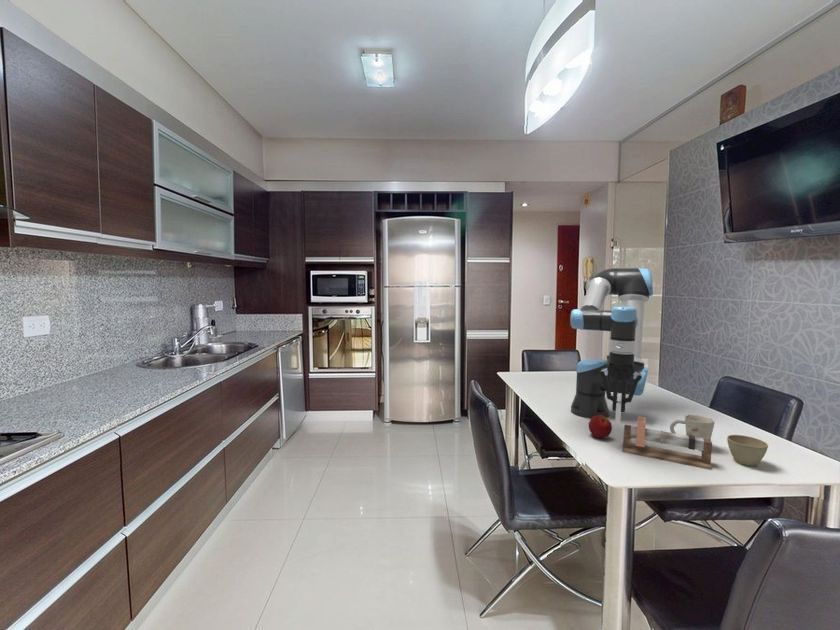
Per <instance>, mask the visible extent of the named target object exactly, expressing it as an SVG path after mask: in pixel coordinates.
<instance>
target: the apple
mask: <svg viewBox="0 0 840 630" xmlns="http://www.w3.org/2000/svg"><path fill="white" fill-rule="evenodd" d="M588 430H589V432H590V434H591V435H593V436H594V437H595V438H598V439H604V438H607V437H608V436H610V434H611V433H612V430H613V426H612V422H611V421H610V419H608V417H605V416H602V415H597V416H594V417H593V418H590V420H589V422H588Z"/></svg>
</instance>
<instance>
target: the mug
mask: <svg viewBox="0 0 840 630" xmlns="http://www.w3.org/2000/svg"><path fill="white" fill-rule="evenodd" d="M677 424H681V425H685V435H687V436H688V435H692V436H695V437H699V438H708V439H711V440H712V436H713V431H714V427H715V420H714V419H713V418H711V417H708V416H704V415H698V414H686V415H685V416H684V419H683V420H682V419H675V420H673V421H672V422H671V423H670V425H669V430H670V433H675V434H677V432H676V431H675V426H676V425H677Z"/></svg>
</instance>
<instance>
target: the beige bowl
mask: <svg viewBox="0 0 840 630" xmlns="http://www.w3.org/2000/svg"><path fill="white" fill-rule="evenodd" d="M726 438H727V439H726V440H727V441H726V442H727V445H728V449H729V452H730V454H731V455H732V458H733V459H734V461H735V462H736V463H738V464H739V465H744V466H748V467H754V466H755V467H756V466H757V465H758V464H759V463H760V462H761V461H762V460H763V458H764V457H765V455H766V453H767V452H768V448H769V444H768V443H767V442H766V441H764V440H761V439H759V438H757V437H752V436H749V435H748V436H747V435H742V434H728V435H727V437H726Z"/></svg>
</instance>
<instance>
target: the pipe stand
mask: <svg viewBox="0 0 840 630" xmlns="http://www.w3.org/2000/svg"><path fill="white" fill-rule="evenodd" d="M675 433H676V432H675ZM675 433H671V432H668V431H663V430H657V429H652V428H651V429H650V428H646V427H645V441H646V442H647V441H648V442H653V443H659V444H665V445H669V446H670V445H671V446H675V447H679V448H680V447H681V448H687V449H688V450H692V451H697V450H698V451H701V454H700V455H699V454H698V455H697V454H693V453H688V452H682V451H676V450H672V449H665V448H662V447H661V448H660V447H655V446H649V445H645V444H644V447H640V446H636V442H631V438H632V439H636V435H637V426H633V425H629V424H624V426H623V438H622V439H623V441H622V449H621V450H622V453H627V454H630V455H637V456H642V457H645V458H652V459H656V460H662V461H666V462H671V463H677V464H681V465H685V466H686V465H687V466H691V467H696V468H702V469H706V470H712V463H711V461H712V449H713V441H712V438H711V439H708V438H699V437H695V436H692V435H688V436H687V435H686V434H680V433H676V434H675Z"/></svg>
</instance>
